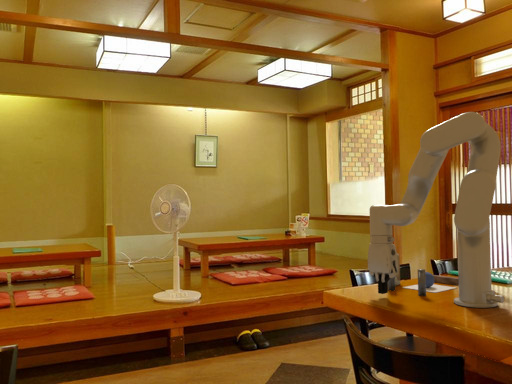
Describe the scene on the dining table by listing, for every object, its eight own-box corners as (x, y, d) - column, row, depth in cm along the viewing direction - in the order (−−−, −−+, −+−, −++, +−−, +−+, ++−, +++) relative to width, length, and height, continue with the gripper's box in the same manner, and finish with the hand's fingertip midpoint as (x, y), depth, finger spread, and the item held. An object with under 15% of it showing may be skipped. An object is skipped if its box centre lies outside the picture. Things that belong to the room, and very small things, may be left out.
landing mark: (457, 288, 177) (457, 287, 177) (435, 292, 169) (435, 292, 169) (424, 283, 188) (424, 283, 188) (402, 287, 180) (402, 287, 180)
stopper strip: (471, 286, 181) (470, 279, 181) (468, 286, 179) (468, 280, 180) (434, 281, 194) (433, 274, 194) (431, 281, 192) (431, 275, 193)
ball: (430, 272, 175) (428, 288, 175) (438, 273, 179) (436, 289, 179) (415, 270, 180) (414, 286, 179) (423, 271, 184) (422, 286, 183)
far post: (396, 290, 175) (396, 266, 176) (392, 291, 174) (391, 266, 174) (391, 289, 177) (390, 265, 178) (386, 290, 176) (386, 266, 176)
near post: (427, 295, 165) (426, 269, 165) (423, 296, 163) (422, 270, 163) (421, 294, 167) (420, 268, 167) (416, 295, 165) (416, 269, 165)
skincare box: (395, 286, 184) (394, 255, 184) (384, 285, 186) (383, 254, 187) (400, 283, 189) (399, 253, 189) (390, 283, 191) (389, 253, 192)
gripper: (406, 240, 159) (407, 294, 159) (371, 238, 171) (373, 289, 171) (392, 242, 155) (393, 297, 154) (357, 239, 167) (359, 291, 167)
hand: (382, 293), depth 163 cm, fingers closed
